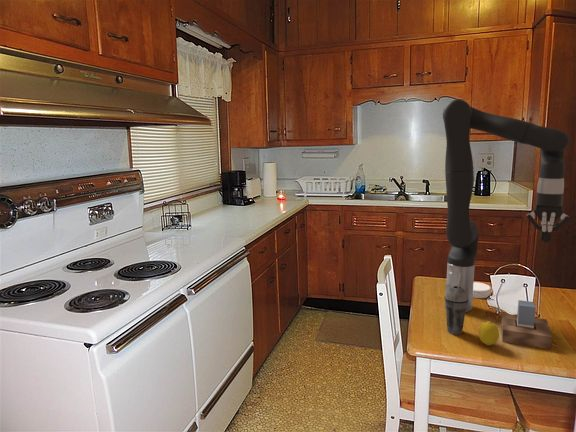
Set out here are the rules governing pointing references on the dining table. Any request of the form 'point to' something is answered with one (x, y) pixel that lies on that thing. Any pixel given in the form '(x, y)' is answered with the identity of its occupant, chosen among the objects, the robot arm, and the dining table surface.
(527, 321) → the peg
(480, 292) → the white shallow cylinder
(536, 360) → the dining table surface
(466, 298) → the beverage cup
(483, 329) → the lemon
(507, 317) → the board
